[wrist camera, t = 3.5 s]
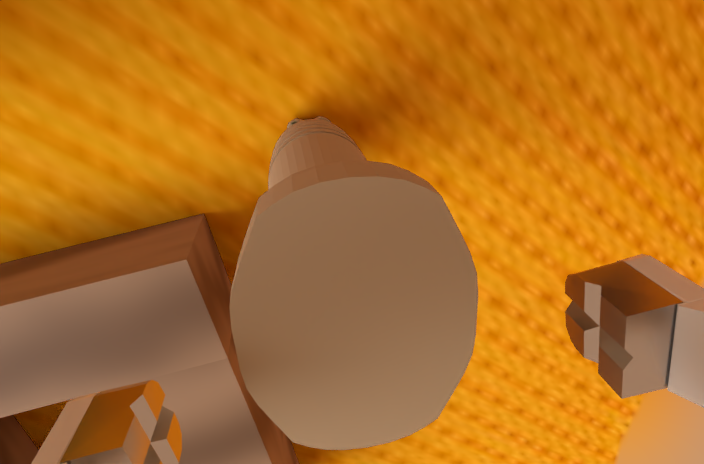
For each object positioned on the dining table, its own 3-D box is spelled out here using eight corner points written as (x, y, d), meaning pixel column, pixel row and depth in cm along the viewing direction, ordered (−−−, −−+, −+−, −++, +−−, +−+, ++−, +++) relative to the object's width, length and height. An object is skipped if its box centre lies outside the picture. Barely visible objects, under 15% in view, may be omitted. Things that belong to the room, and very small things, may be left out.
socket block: (-203, 314, 22) (-325, 387, 18) (204, 213, 23) (186, 259, 19) (12, 554, 31) (-33, 644, 26) (302, 473, 32) (307, 548, 27)
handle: (355, 73, 22) (486, 162, 8) (362, 202, 24) (469, 430, 11) (250, 82, 21) (202, 193, 8) (269, 213, 24) (260, 465, 10)
